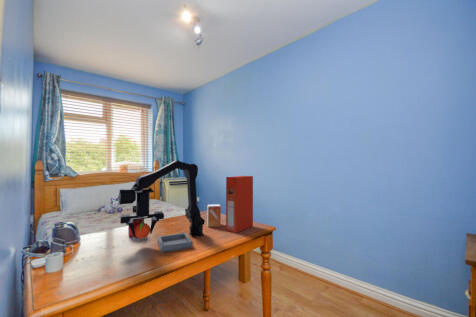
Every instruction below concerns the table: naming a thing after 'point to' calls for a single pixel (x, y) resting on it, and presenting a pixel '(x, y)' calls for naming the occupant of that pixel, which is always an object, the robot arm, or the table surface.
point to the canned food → (135, 223)
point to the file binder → (239, 203)
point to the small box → (213, 215)
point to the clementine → (142, 230)
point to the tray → (174, 242)
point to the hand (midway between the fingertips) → (142, 235)
